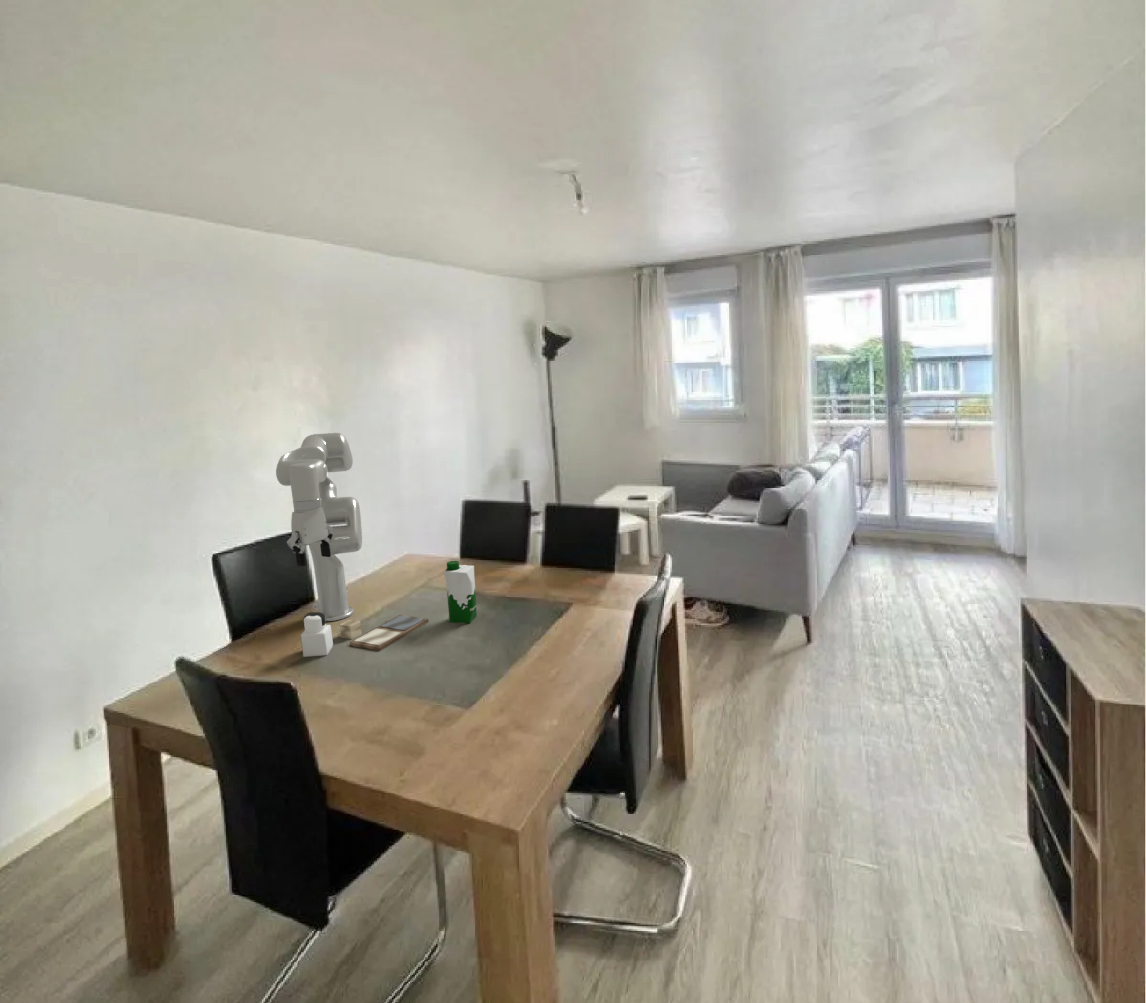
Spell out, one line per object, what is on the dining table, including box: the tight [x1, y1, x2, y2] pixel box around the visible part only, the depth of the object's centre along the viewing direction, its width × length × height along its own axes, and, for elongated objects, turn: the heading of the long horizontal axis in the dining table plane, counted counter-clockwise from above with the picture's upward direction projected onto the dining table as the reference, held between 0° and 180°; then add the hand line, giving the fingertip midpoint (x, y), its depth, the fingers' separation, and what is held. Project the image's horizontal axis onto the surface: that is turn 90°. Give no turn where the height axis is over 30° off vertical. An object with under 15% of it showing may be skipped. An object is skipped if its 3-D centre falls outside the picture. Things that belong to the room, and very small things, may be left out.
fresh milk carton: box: [443, 560, 477, 624], centre depth 221 cm, size 9×9×20 cm
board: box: [349, 614, 429, 652], centre depth 214 cm, size 12×24×1 cm, turn 155°
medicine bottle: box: [300, 611, 334, 658], centre depth 201 cm, size 7×7×12 cm
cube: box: [339, 619, 363, 640], centre depth 213 cm, size 4×4×4 cm
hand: (314, 561), depth 197 cm, fingers open, 9 cm apart
